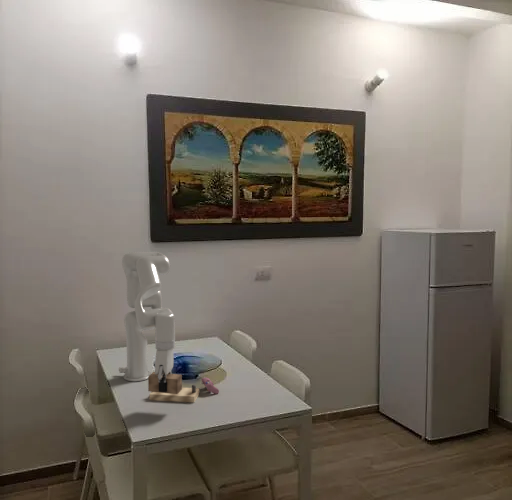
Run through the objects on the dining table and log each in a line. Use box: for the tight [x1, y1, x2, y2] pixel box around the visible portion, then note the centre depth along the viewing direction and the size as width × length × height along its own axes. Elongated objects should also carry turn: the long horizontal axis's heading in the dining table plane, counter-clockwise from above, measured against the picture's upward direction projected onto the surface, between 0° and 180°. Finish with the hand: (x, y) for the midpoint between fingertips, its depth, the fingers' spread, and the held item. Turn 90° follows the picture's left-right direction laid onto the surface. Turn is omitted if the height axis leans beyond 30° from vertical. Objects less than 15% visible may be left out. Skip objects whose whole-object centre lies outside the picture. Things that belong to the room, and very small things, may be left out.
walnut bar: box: [147, 371, 183, 394], centre depth 189 cm, size 12×5×6 cm, turn 79°
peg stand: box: [149, 384, 200, 403], centre depth 202 cm, size 19×9×6 cm, turn 84°
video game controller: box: [201, 376, 220, 395], centre depth 209 cm, size 10×5×7 cm, turn 21°
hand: (165, 388), depth 189 cm, fingers closed on walnut bar, 5 cm apart
